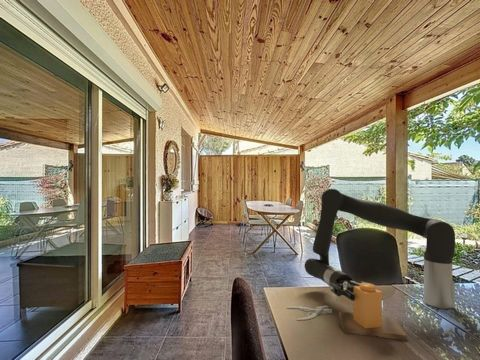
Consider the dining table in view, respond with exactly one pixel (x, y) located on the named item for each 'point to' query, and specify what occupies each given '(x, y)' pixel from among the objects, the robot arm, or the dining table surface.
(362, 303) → the orange toy brick
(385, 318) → the board
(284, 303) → the dining table surface
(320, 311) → the pliers
